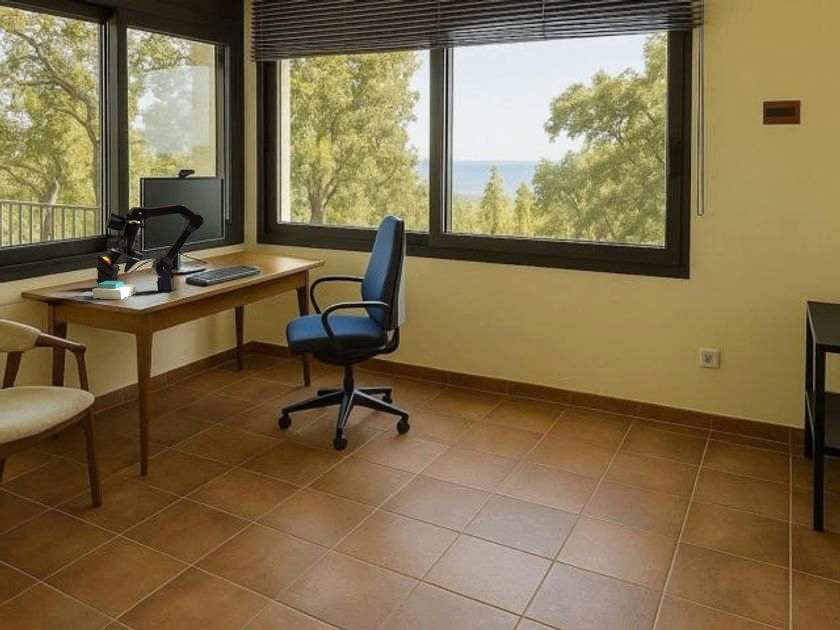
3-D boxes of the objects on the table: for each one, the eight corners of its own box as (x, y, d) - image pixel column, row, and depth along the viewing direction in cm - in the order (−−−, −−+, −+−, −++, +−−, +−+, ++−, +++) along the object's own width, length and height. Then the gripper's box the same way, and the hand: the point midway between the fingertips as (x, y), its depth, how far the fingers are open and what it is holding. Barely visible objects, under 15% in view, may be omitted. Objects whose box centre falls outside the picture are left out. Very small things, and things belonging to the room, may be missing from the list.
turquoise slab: (123, 286, 324) (123, 281, 324) (116, 288, 318) (115, 284, 318) (106, 285, 325) (106, 281, 325) (98, 288, 319) (98, 283, 319)
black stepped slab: (99, 281, 346) (105, 254, 339) (117, 296, 341) (123, 268, 335) (92, 283, 343) (98, 255, 336) (110, 298, 338) (116, 270, 332)
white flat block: (136, 293, 328) (135, 284, 327) (121, 299, 316) (120, 290, 315) (109, 292, 330) (108, 283, 329) (93, 298, 318) (92, 289, 317)
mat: (107, 292, 329) (107, 292, 329) (96, 297, 321) (96, 296, 321) (87, 292, 331) (87, 291, 331) (74, 296, 322) (74, 295, 322)
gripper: (100, 225, 317) (89, 260, 318) (128, 235, 308) (116, 271, 309) (121, 232, 327) (110, 265, 327) (149, 242, 318) (137, 276, 318)
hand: (118, 269), depth 320 cm, fingers open, 9 cm apart
